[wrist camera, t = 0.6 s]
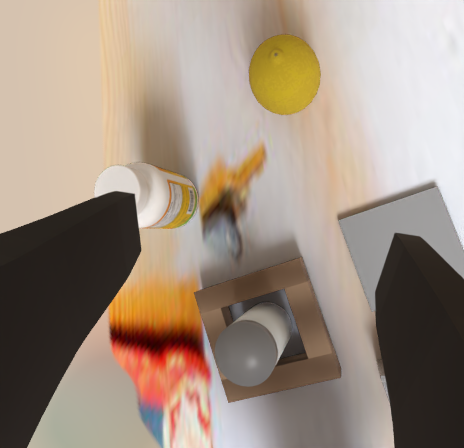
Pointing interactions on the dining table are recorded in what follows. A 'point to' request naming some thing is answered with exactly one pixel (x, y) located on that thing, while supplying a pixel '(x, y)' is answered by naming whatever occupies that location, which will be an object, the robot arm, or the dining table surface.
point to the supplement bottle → (152, 193)
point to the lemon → (284, 74)
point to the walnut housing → (306, 316)
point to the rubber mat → (400, 221)
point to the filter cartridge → (253, 344)
